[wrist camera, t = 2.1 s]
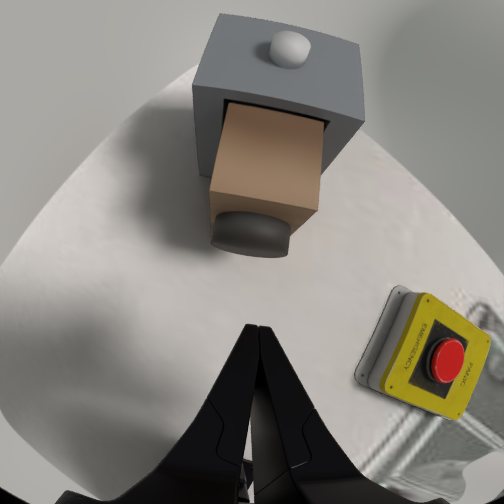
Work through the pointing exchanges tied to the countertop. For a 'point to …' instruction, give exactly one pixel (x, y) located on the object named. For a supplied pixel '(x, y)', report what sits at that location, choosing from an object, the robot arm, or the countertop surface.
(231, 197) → the plunger
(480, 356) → the emergency button
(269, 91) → the housing
